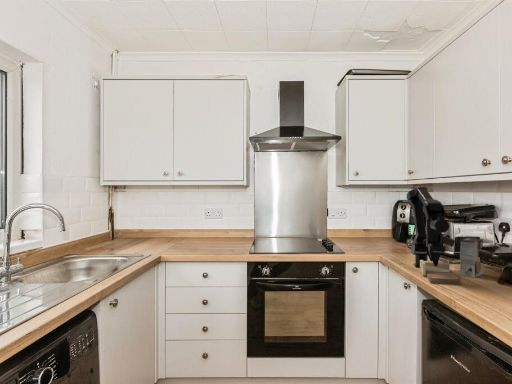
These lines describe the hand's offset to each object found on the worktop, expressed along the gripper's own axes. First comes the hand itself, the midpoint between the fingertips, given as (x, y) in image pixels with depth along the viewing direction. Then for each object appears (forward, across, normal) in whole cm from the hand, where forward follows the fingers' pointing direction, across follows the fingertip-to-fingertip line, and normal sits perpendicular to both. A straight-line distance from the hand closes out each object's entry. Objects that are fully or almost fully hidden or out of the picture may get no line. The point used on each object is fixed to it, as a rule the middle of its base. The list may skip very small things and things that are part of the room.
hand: (433, 263), depth 155 cm
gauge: (+5, 0, 0) cm, 5 cm away
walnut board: (+5, -6, -2) cm, 8 cm away
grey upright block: (+5, +5, -16) cm, 18 cm away
